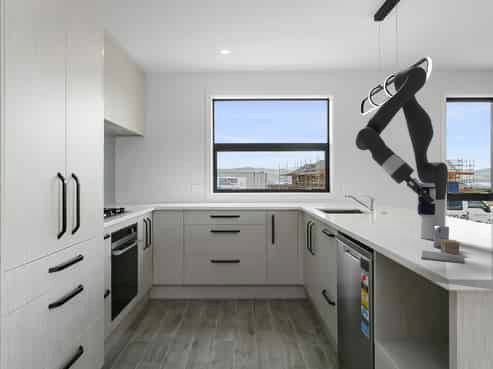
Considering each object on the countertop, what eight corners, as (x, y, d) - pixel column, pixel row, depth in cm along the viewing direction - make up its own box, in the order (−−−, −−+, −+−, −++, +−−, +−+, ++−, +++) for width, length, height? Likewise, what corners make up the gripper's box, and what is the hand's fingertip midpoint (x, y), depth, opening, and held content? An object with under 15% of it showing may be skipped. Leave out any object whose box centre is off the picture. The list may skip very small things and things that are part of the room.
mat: (422, 252, 126) (422, 250, 126) (461, 256, 121) (461, 254, 121) (421, 259, 116) (421, 257, 116) (464, 263, 110) (464, 261, 110)
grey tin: (433, 245, 138) (434, 225, 138) (448, 247, 136) (448, 226, 136) (433, 248, 134) (434, 227, 134) (448, 249, 132) (449, 228, 132)
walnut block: (440, 251, 128) (440, 239, 128) (454, 252, 127) (454, 240, 127) (444, 254, 123) (444, 241, 123) (458, 255, 122) (459, 242, 122)
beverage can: (429, 215, 132) (430, 183, 132) (438, 217, 126) (439, 183, 126) (414, 215, 132) (415, 183, 132) (422, 217, 126) (423, 183, 126)
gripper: (403, 160, 126) (440, 195, 121) (406, 162, 138) (440, 193, 133) (387, 175, 128) (423, 210, 123) (391, 175, 141) (424, 207, 136)
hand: (431, 201), depth 128 cm, fingers closed on beverage can, 5 cm apart
